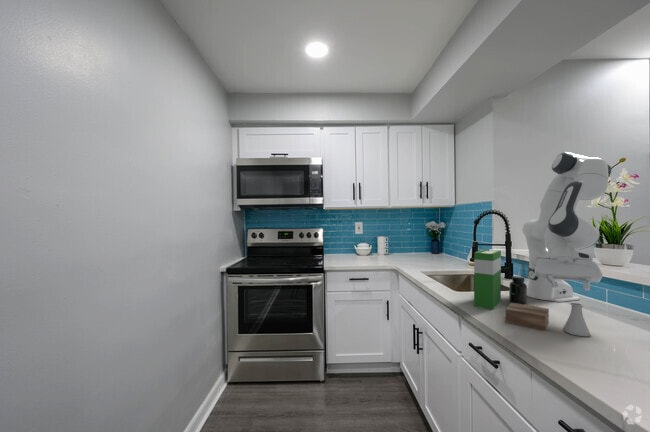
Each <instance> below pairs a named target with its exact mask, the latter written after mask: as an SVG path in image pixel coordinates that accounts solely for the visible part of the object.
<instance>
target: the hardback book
mask: <svg viewBox="0 0 650 432" xmlns="http://www.w3.org/2000/svg"><path fill="white" fill-rule="evenodd" d="M473 255H474V256H473V257H474V259H473V261H474V263H473V264H474V272H473V273H474V274H473V275H474V277H473V278H474V279H473V280H474V284H473V287H474V288H473V296H474V298H473V304H474V305H473V306H474V307H477V308H482V309H487V310H493V311H494V309H495V308H496V307H497V306H498V305H499V303H500V302H501V300H502V298H501V294H502V293H501V292H502V289H501V287H502V286H501V285H502V282H501V281H502V272H501V270H502V268H501V267H502V250H496V251H493V250H492V251H487V250H486V249H481V250H477V251H475V252H474V254H473Z"/></svg>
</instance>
